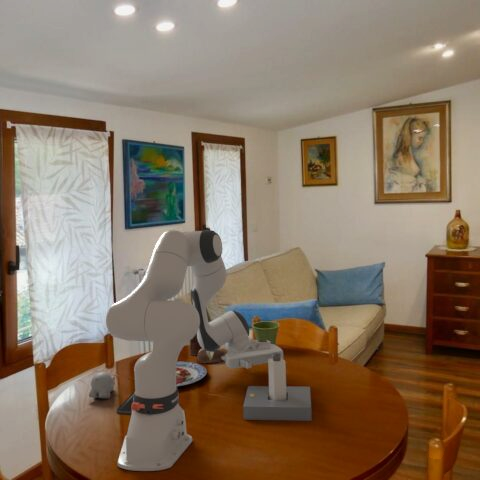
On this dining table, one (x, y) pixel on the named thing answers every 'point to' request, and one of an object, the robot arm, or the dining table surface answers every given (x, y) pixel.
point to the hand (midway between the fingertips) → (262, 364)
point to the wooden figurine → (194, 346)
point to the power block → (277, 404)
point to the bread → (210, 356)
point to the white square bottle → (277, 377)
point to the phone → (126, 406)
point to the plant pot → (266, 331)
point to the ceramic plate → (188, 373)
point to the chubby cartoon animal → (102, 385)
